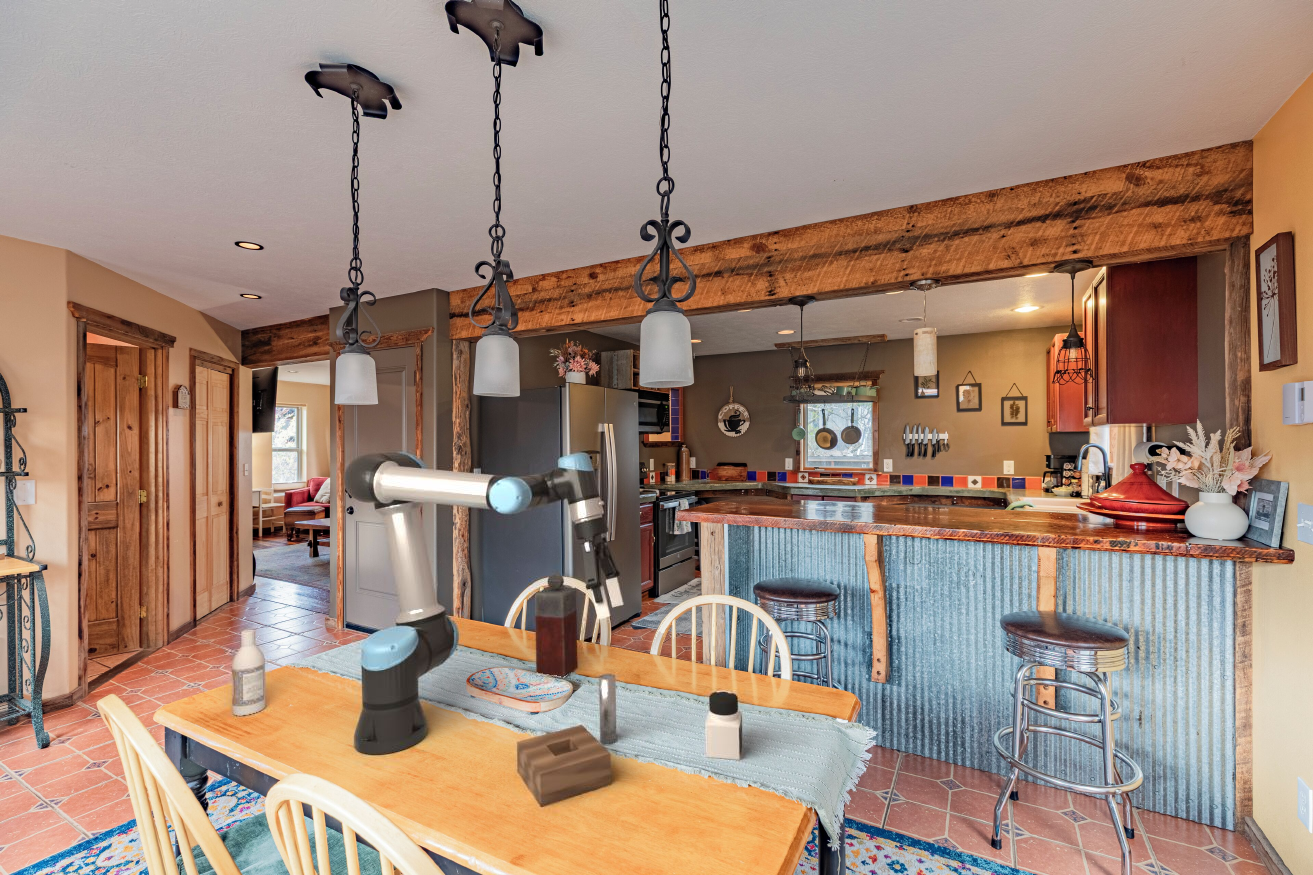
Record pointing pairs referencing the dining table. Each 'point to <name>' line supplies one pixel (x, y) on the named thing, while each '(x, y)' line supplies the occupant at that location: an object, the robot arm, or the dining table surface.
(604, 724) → the steel pin
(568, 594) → the square glass decanter
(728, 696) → the medicine bottle
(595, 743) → the bore block
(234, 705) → the bath foam
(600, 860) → the dining table surface
